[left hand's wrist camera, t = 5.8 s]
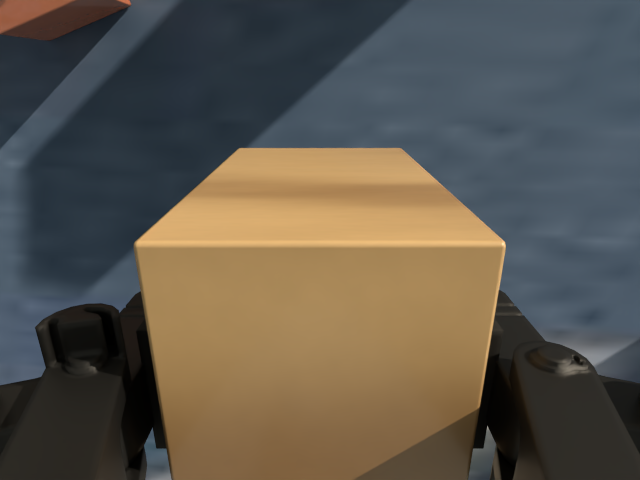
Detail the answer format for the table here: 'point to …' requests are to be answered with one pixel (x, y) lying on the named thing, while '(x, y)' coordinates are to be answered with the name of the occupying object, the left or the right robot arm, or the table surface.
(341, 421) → the wood beam
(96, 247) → the table surface
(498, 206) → the table surface
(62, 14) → the terracotta block
